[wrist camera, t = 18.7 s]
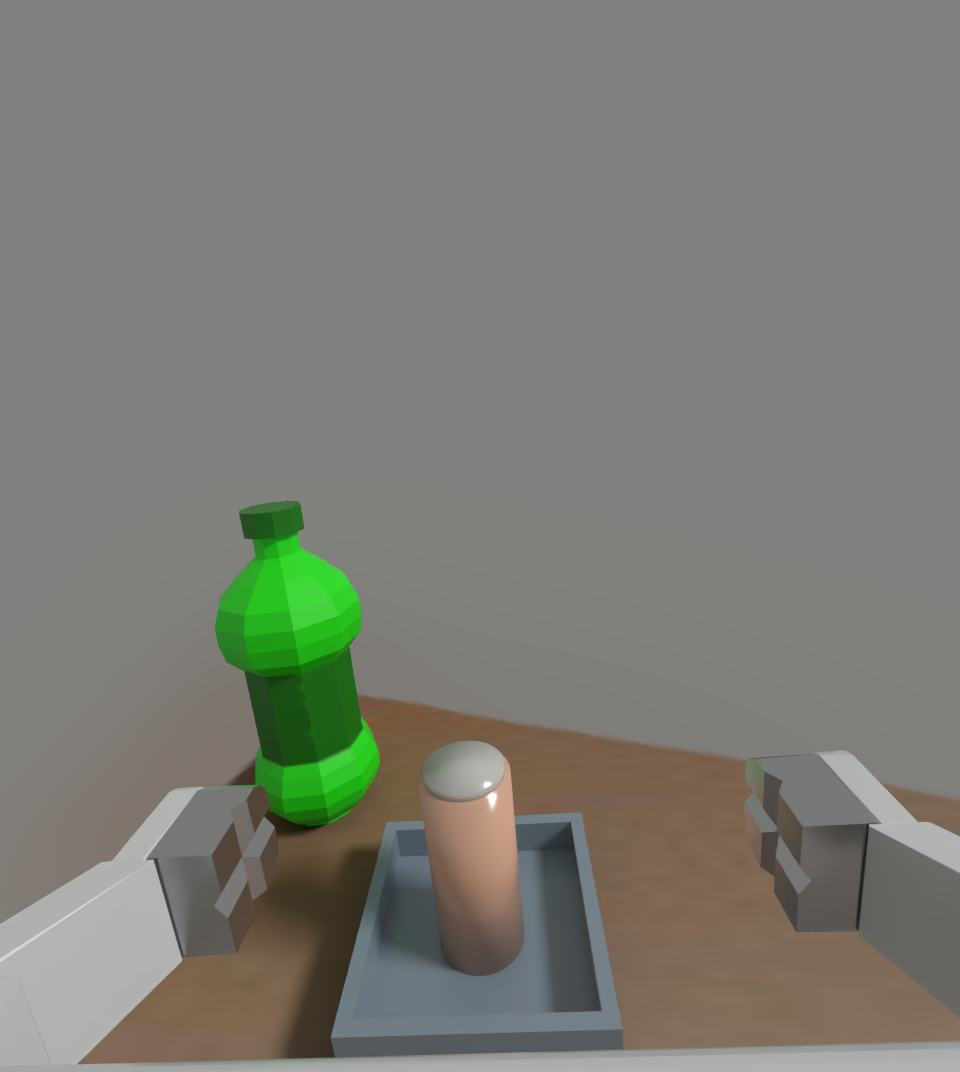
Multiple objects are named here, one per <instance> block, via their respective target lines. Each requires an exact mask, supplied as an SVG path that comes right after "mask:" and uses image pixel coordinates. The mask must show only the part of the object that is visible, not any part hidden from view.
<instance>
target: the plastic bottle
mask: <svg viewBox="0 0 960 1072" xmlns="http://www.w3.org/2000/svg"><path fill="white" fill-rule="evenodd" d="M239 514H240V519H241V524H242V529H243V534H244V538H246V539H253V544H254V549H255V554H256V556H255V557H254V558H253V559H252V560H251V561H250V562H249V563H248V564H247V566H246V567H245V568H244V569H243V570H242V571H241V572H240V573H239V574H238V575H237V577H236V578H235V579H234V580H233V582H232V583H231V584H230V585H229V587H228V588H227V589H226V591H225V592H224V593H223V594H222V595H221V597H220V602H219V607H218V613H217V620H216V625H215V632H216V636H217V641H218V645H219V648H220V650H221V652H222V654H223V656H224V657H225V660H226V662H227V663H229V664H231V665H233V666H236V667H237V668H239V669H241V670H243V671H245V676H246V681H247V685H248V690H249V694H250V699H251V703H252V708H253V713H254V718H255V722H256V726H257V731H258V736H259V740H260V747H259V749H258V753H257V758H256V762H255V783H256V785H261V786H263V787H264V788H266V791H267V795H268V799H269V802H270V806H269V808H268V810H269V811H271V812H273V813H275V814H277V815H279V816H281V817H283V818H285V819H287V820H289V821H291V822H293V823H295V824H303V825H307V826H316V825H324V824H330V823H332V822H334V821H335V820H337V819H339V818H340V817H342V816H344V815H346V814H347V813H349V811H350V810H351V809H352V808H353V807H354V806H355V805H356V804H358V802H359V801H360V800H361V798H362V796H363V795H364V793H365V792H366V790H367V789H368V787H369V785H370V784H371V782H372V781H373V779H374V777H375V776H376V774H377V770H378V767H379V763H380V759H379V753H378V748H377V746H376V743H375V740H374V738H373V735H372V732H371V730H370V728H369V727H368V725H367V724H366V722H365V721H364V720H363V719H362V717H361V716H360V710H359V704H358V698H357V691H356V685H355V680H354V673H353V667H352V661H351V654H350V649H349V646H350V644H351V643H352V642H353V640H354V639H355V637H356V636H357V635H358V633H359V632H360V627H361V615H362V614H361V608H360V601H359V598H358V596H357V594H356V592H355V591H354V589H353V587H352V585H351V584H350V582H349V580H348V579H347V577H346V575H345V574H344V572H342V571H340V570H339V569H337V568H336V567H334V566H332V565H331V564H329V563H327V562H326V561H324V560H322V559H321V558H319V557H317V556H315V555H313V554H311V553H309V552H307V551H305V550H304V549H302V548H300V544H299V538H298V533H297V532H298V531H300V530H302V529H304V524H303V518H302V512H301V506H300V503H299V502H297V501H283V502H273V503H266V504H261V505H256V506H251V507H248V508H245V509H242V510H240V513H239Z"/></svg>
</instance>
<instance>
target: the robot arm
mask: <svg viewBox="0 0 960 1072" xmlns="http://www.w3.org/2000/svg"><path fill="white" fill-rule="evenodd" d="M745 780H746V782H747V783H748V785H749V787H750V788H751V790H752V791H753V793H752V794H751V796H750V797H749V798H748V799H747V801H746V802H745V825H746V830H747V835H748V840H749V843H750V845H751V848H752V851H753V853H754V855H755V857H756V859H757V861H758V863H759V865H760V867H761V868H763V869H764V870H766V871H767V872H769V873H770V874H771V875H773V876H774V877H775V884H774V892H775V894H776V896H777V898H778V900H779V902H780V903H781V905H782V907H783V909H784V911H785V912H786V914H787V916H788V918H789V920H790V921H791V923H792V925H793V927H794V929H795V931H796V932H859V933H858V935H859V936H860V937H862V938H863V939H864V940H865V941H866V942H868V943H869V944H870V945H871V946H873V947H874V948H875V949H876V950H878V951H879V952H880V953H881V954H882V955H884V956H885V957H886V958H887V959H889V960H890V961H891V962H892V963H894V964H895V965H896V966H897V967H898V968H900V969H901V970H902V971H903V972H905V973H906V974H907V975H908V976H909V977H911V978H912V979H913V980H914V981H916V982H917V983H918V984H919V985H921V986H922V987H923V988H924V989H925V990H927V991H928V992H929V993H930V994H932V995H933V996H934V997H935V998H937V999H938V1000H939V1001H940V1002H941V1003H943V1004H944V1005H945V1006H946V1007H948V1008H949V1009H950V1010H951V1011H952V1012H954V1013H955V1014H956V1015H957V1016H959V1017H960V837H959V836H957V835H955V834H953V833H951V832H949V831H947V830H945V829H943V828H940V827H938V826H936V825H934V824H932V823H930V822H917V821H916V820H915V819H914V818H913V817H912V815H911V814H910V813H909V812H908V811H907V810H906V809H905V808H904V807H903V806H902V805H901V804H900V803H899V802H898V801H897V800H896V799H895V798H894V797H893V796H892V795H891V794H890V793H889V792H888V791H887V790H886V789H885V788H884V787H883V786H882V785H881V784H880V783H879V782H878V781H877V780H876V779H875V777H874V776H873V775H872V774H871V773H870V772H868V770H867V769H866V768H865V767H864V766H863V765H862V764H861V763H860V762H859V761H858V760H857V759H856V758H855V757H854V756H853V755H852V754H850V753H849V752H846V751H844V750H841V751H830V752H819V753H812V754H808V755H807V754H806V755H790V756H774V757H756V758H749V759H748V761H747V764H746V774H745ZM269 806H270V802H269V799H268V795H267V791H266V788H264V787H263V786H261V785H233V786H206V787H188V788H187V787H186V788H177V789H174V790H172V791H170V792H169V793H168V794H167V795H166V796H165V798H164V799H163V800H162V801H161V802H160V804H159V805H158V806H157V807H156V808H155V810H154V811H153V812H152V813H151V815H150V816H149V817H148V818H147V819H146V821H145V822H144V823H143V824H142V825H141V827H140V828H139V829H138V830H137V831H136V833H135V834H134V835H133V836H132V837H131V839H130V840H129V841H128V842H127V844H126V845H125V846H124V847H123V848H122V850H121V851H120V852H119V853H118V854H117V856H116V857H115V858H114V859H113V860H112V861H111V862H101V863H100V864H98V865H96V866H95V867H93V868H92V869H90V870H88V871H87V872H85V873H83V874H82V875H80V876H78V877H77V878H75V879H74V880H72V881H70V882H69V883H67V884H66V885H64V886H62V887H60V888H59V889H57V890H55V891H54V892H52V893H51V894H49V895H47V896H46V897H44V898H42V899H41V900H39V901H37V902H36V903H34V904H32V905H31V906H29V907H28V908H26V909H24V910H23V911H21V912H19V913H18V914H16V915H14V916H13V917H11V918H10V919H8V920H6V921H5V922H3V923H1V924H0V1072H960V1041H932V1042H895V1043H859V1044H823V1045H785V1046H747V1047H709V1048H670V1049H632V1050H593V1051H556V1052H519V1053H482V1054H445V1055H409V1056H372V1057H335V1058H298V1059H261V1060H224V1061H187V1062H150V1063H113V1064H77V1063H78V1062H79V1061H80V1060H81V1059H82V1058H83V1057H84V1056H86V1055H87V1054H88V1053H89V1052H90V1051H91V1050H92V1049H93V1048H94V1047H95V1046H96V1045H97V1044H98V1043H99V1042H100V1041H101V1040H102V1039H103V1038H104V1037H105V1036H106V1035H107V1034H108V1033H109V1032H110V1031H111V1030H112V1029H113V1028H114V1027H115V1026H116V1025H117V1024H118V1023H119V1022H120V1021H121V1020H122V1019H123V1018H124V1017H125V1016H126V1015H127V1014H128V1013H129V1012H130V1011H131V1010H132V1009H133V1008H135V1007H136V1006H137V1005H138V1004H139V1003H140V1002H141V1001H142V1000H143V999H144V998H145V997H146V996H147V995H148V994H149V993H150V992H151V991H152V990H153V989H154V988H155V987H156V986H157V985H158V984H159V983H160V982H161V981H162V980H163V979H164V978H165V977H166V976H167V975H168V974H169V973H170V972H171V971H172V970H173V969H174V968H175V967H176V966H177V965H178V964H179V963H180V962H181V961H182V957H194V956H208V955H222V954H236V953H237V952H238V950H239V948H240V945H241V943H242V941H243V939H244V937H245V935H246V933H247V931H248V929H249V926H250V924H251V922H252V920H253V918H254V916H255V910H254V905H253V900H255V899H256V898H257V897H258V896H259V895H261V894H262V893H263V892H264V891H265V890H267V888H268V886H269V883H270V881H271V879H272V877H273V874H274V870H275V866H276V861H277V856H278V839H277V834H276V829H275V827H274V826H273V825H272V824H271V823H270V822H269V821H268V820H267V819H266V818H265V817H264V815H265V814H266V812H267V810H268V808H269Z"/></svg>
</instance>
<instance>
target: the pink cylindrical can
mask: <svg viewBox="0 0 960 1072" xmlns="http://www.w3.org/2000/svg"><path fill="white" fill-rule="evenodd" d="M418 785H419V792H420V799H421V807H422V814H423V821H424V828H425V836H426V843H427V850H428V857H429V865H430V872H431V879H432V886H433V894H434V901H435V908H436V915H437V923H438V930H439V937H440V944H441V949H442V952H443V954H444V956H445V958H446V960H447V961H448V962H449V963H450V965H452V966H453V967H454V968H455V969H457V970H458V971H460V972H462V973H464V974H468V975H472V976H487V975H492V974H495V973H497V972H500V971H501V970H503V969H505V968H506V967H508V966H509V965H510V964H511V963H512V962H513V961H514V960H515V959H516V958H517V956H518V955H519V953H520V951H521V949H522V946H523V943H524V937H525V930H524V919H523V907H522V896H521V885H520V874H519V863H518V852H517V840H516V829H515V818H514V807H513V796H512V785H511V774H510V766H509V763H508V762H507V760H506V759H505V757H504V756H503V755H501V753H500V752H499V751H498V750H497V749H496V748H494V747H493V746H491V745H489V744H486V743H483V742H478V741H460V742H455V743H451V744H448V745H445V746H443V747H441V748H439V749H438V750H436V751H435V752H433V753H432V754H431V755H430V756H429V757H428V758H427V760H426V761H425V763H424V766H423V767H422V769H421V771H420V773H419V776H418Z"/></svg>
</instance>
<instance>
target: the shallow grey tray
mask: <svg viewBox="0 0 960 1072" xmlns="http://www.w3.org/2000/svg"><path fill="white" fill-rule="evenodd" d="M514 818H515V829H516V840H517V852H518V863H519V874H520V885H521V896H522V907H523V919H524V930H525V937H524V943H523V946H522V949H521V951H520V953H519V955H518V956H517V958H516V959H515V960H514V961H513V962H512V963H511V964H510V965H509V966H508V967H506V968H505V969H503V970H501V971H500V972H497V973H495V974H492V975H487V976H472V975H468V974H464V973H462V972H460V971H458V970H457V969H455V968H454V967H453V966H452V965H450V963H449V962H448V961H447V960H446V958H445V956H444V954H443V952H442V949H441V944H440V937H439V930H438V923H437V915H436V908H435V901H434V894H433V886H432V879H431V872H430V865H429V857H428V850H427V843H426V836H425V828H424V821H404V822H387V823H386V827H385V831H384V835H383V839H382V842H381V846H380V850H379V854H378V858H377V862H376V865H375V869H374V873H373V877H372V881H371V885H370V888H369V892H368V896H367V900H366V904H365V908H364V911H363V915H362V919H361V923H360V927H359V931H358V935H357V938H356V942H355V946H354V950H353V954H352V958H351V961H350V965H349V969H348V973H347V977H346V981H345V984H344V988H343V992H342V996H341V1000H340V1004H339V1007H338V1011H337V1015H336V1019H335V1023H334V1027H333V1030H332V1034H331V1042H332V1047H333V1052H334V1056H335V1057H372V1056H409V1055H445V1054H482V1053H519V1052H556V1051H593V1050H623V1031H622V1024H621V1019H620V1014H619V1009H618V1003H617V998H616V993H615V988H614V982H613V977H612V972H611V967H610V961H609V956H608V951H607V946H606V940H605V935H604V930H603V925H602V920H601V914H600V909H599V904H598V899H597V893H596V888H595V883H594V878H593V872H592V867H591V862H590V857H589V851H588V846H587V841H586V836H585V830H584V825H583V820H582V815H581V813H562V814H542V815H522V816H514Z"/></svg>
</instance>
